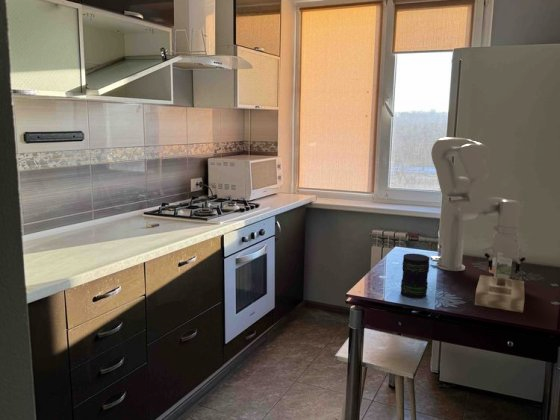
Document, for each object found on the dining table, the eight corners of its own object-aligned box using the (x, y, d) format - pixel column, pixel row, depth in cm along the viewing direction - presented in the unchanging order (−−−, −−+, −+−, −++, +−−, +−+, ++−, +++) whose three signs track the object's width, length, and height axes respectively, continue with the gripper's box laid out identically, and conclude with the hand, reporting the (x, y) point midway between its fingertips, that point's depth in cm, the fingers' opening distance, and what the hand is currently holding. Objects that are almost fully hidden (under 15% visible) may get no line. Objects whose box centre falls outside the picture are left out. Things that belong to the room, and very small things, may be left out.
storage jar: (422, 300, 187) (425, 261, 184) (396, 295, 192) (399, 257, 189) (429, 293, 195) (433, 256, 192) (405, 288, 200) (407, 252, 198)
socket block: (474, 304, 184) (475, 291, 183) (479, 286, 206) (480, 274, 205) (522, 312, 178) (524, 299, 177) (522, 293, 199) (523, 281, 198)
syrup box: (507, 283, 211) (511, 249, 209) (509, 287, 206) (513, 253, 204) (493, 281, 213) (496, 248, 211) (494, 285, 208) (497, 251, 205)
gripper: (483, 229, 206) (480, 270, 208) (531, 234, 199) (526, 276, 201) (485, 226, 213) (481, 266, 215) (530, 230, 205) (526, 271, 208)
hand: (503, 270), depth 208 cm, fingers open, 9 cm apart
